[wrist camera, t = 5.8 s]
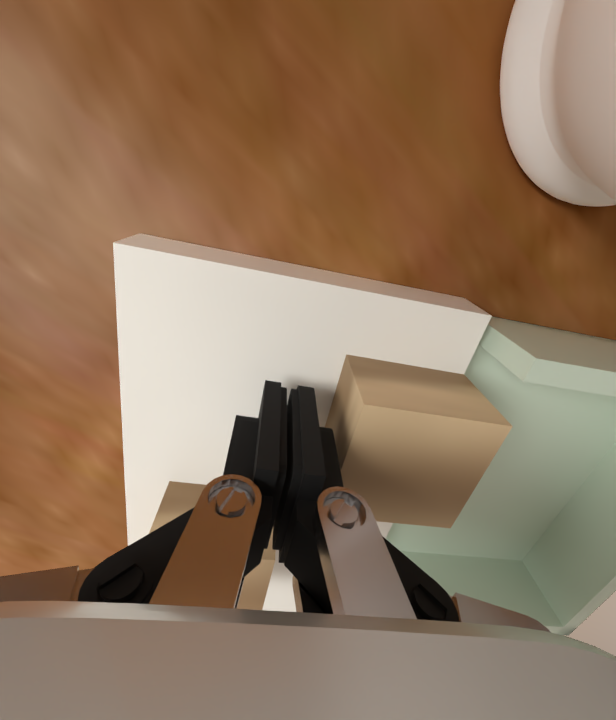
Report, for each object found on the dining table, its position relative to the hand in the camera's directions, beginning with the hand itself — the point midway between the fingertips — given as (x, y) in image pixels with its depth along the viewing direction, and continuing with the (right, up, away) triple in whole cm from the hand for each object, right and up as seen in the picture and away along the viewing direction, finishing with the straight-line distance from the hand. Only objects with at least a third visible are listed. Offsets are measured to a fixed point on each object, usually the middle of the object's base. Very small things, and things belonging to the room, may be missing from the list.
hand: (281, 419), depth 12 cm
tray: (+11, -3, +6) cm, 13 cm away
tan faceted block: (+4, 0, +1) cm, 4 cm away
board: (-1, -3, +5) cm, 6 cm away
